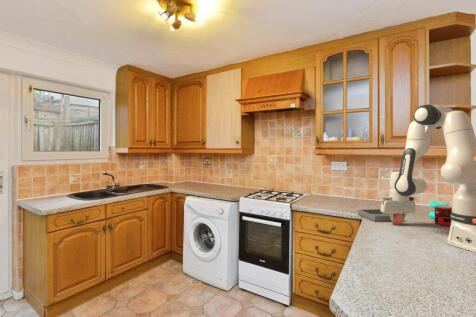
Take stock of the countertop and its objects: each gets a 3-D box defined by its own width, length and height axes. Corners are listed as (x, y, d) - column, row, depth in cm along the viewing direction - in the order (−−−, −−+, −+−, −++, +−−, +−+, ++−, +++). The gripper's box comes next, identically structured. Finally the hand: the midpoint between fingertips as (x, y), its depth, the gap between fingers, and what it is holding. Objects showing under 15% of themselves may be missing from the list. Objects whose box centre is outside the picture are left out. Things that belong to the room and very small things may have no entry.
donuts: (452, 204, 162) (438, 204, 161) (452, 219, 162) (438, 220, 161) (439, 201, 172) (425, 201, 171) (438, 216, 172) (425, 216, 171)
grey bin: (401, 221, 157) (401, 215, 157) (374, 221, 155) (374, 216, 155) (382, 214, 175) (382, 209, 175) (357, 214, 173) (357, 209, 173)
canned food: (435, 221, 157) (435, 204, 156) (452, 224, 151) (452, 206, 151) (433, 224, 151) (433, 205, 151) (450, 227, 146) (451, 208, 145)
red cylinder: (404, 224, 149) (404, 214, 149) (396, 225, 148) (396, 215, 148) (398, 222, 154) (398, 212, 154) (390, 222, 153) (390, 212, 153)
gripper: (385, 198, 147) (384, 222, 147) (417, 198, 149) (417, 221, 149) (378, 196, 153) (377, 219, 153) (409, 196, 155) (408, 218, 155)
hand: (397, 220), depth 151 cm, fingers closed on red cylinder, 5 cm apart
